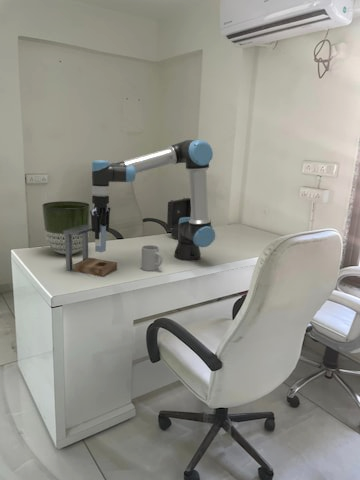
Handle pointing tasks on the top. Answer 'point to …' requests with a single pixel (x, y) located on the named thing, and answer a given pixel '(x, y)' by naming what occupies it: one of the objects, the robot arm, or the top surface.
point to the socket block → (95, 267)
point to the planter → (64, 223)
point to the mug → (150, 258)
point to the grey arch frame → (68, 242)
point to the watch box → (177, 213)
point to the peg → (102, 240)
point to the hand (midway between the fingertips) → (100, 244)
